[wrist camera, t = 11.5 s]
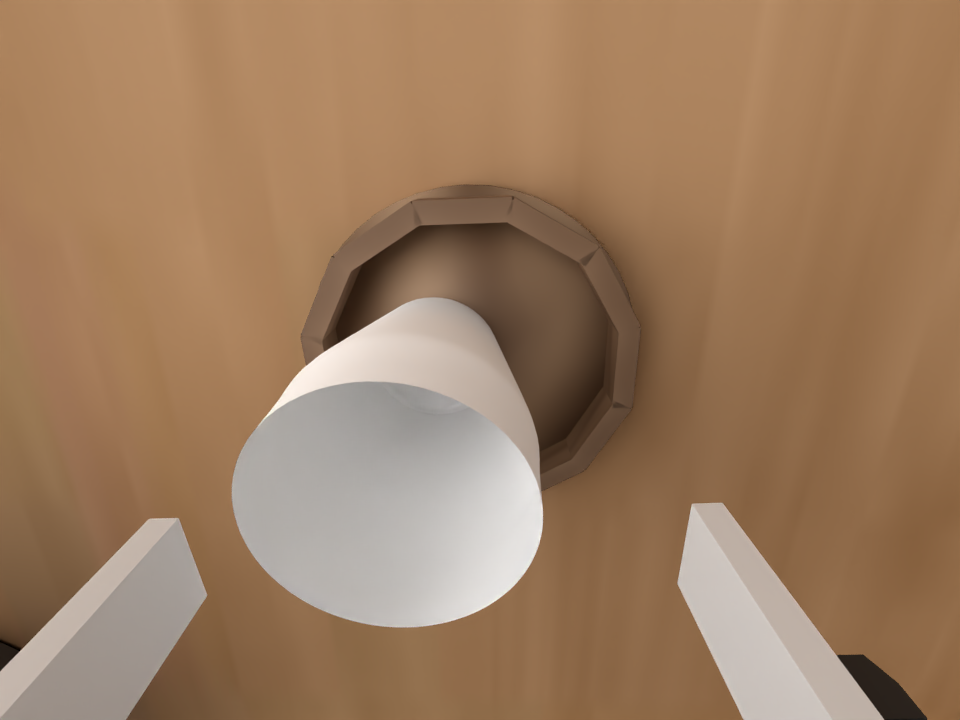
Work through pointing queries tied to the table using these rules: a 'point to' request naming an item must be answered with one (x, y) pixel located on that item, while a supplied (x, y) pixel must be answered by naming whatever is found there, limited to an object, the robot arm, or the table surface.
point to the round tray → (501, 304)
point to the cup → (396, 473)
